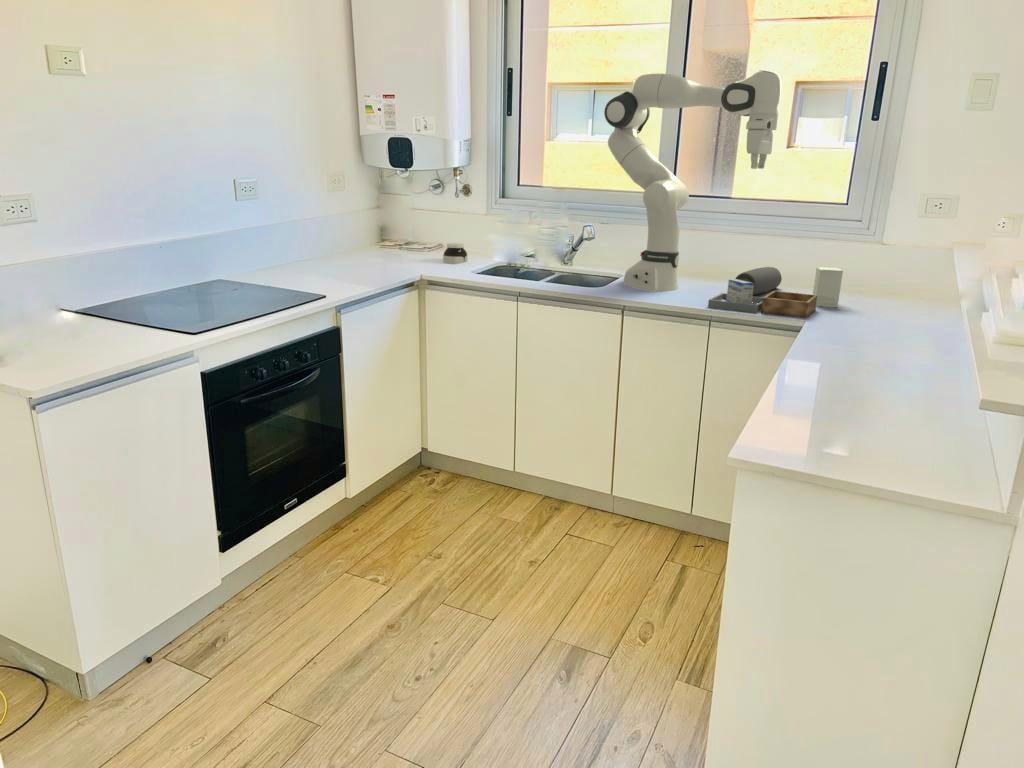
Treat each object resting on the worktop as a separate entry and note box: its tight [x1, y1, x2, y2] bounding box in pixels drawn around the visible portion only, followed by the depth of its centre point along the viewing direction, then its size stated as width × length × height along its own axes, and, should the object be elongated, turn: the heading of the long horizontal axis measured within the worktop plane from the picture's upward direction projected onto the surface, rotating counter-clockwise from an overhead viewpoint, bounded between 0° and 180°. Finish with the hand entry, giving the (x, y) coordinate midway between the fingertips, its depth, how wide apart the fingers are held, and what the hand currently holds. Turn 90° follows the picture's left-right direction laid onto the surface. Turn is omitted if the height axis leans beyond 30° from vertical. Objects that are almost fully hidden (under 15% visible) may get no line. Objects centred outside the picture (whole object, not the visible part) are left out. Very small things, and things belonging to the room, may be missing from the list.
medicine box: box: [725, 278, 754, 304], centre depth 252 cm, size 8×4×9 cm, turn 23°
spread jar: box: [442, 242, 468, 265], centre depth 311 cm, size 12×11×12 cm
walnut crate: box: [760, 290, 817, 319], centre depth 246 cm, size 14×16×5 cm
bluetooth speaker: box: [734, 266, 783, 297], centre depth 272 cm, size 23×9×10 cm, turn 139°
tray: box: [707, 292, 763, 314], centre depth 252 cm, size 16×16×2 cm
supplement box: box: [812, 266, 844, 308], centre depth 257 cm, size 7×7×13 cm
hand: (757, 168), depth 248 cm, fingers open, 8 cm apart
